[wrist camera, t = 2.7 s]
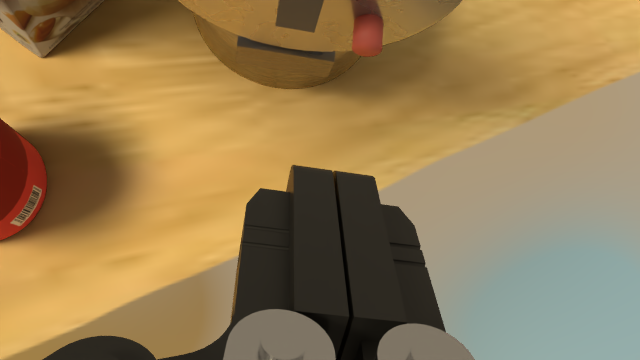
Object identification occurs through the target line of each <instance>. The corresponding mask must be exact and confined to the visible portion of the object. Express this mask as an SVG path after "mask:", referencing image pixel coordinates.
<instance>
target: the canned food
mask: <svg viewBox="0 0 640 360" xmlns="http://www.w3.org/2000/svg"><path fill="white" fill-rule="evenodd" d="M46 190H47V175H46V170H45V165H44V163H43V160H42V158H41V156H40V154H39V153H38V152H37V150H36V149H35V147H34V146H33V145H32V144H30V143H29V142H28V141H27V140H26V139H25V138H24V137H22V136H21V135H20V134H19V133H17V132H16V131H15V130H14V129H12V128H11V127H10V126H9V125H8V124H6V123H5V122H4V121H3V120H1V119H0V240H2V239H5V238H7V237H9V236H12V235H14V234H16V233H17V232H19V231H20V230H21V229H23V228H24V227H26V226H27V225H28V224H29V223H30V222H31V221H32V220H33V219H34V218H35V216H36V215H37V213H38V212H39V210H40V209H41V206H42V204H43V201H44V199H45V195H46Z"/></svg>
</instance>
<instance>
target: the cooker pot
mask: <svg viewBox="0 0 640 360" xmlns="http://www.w3.org/2000/svg"><path fill="white" fill-rule="evenodd" d="M193 13H194V12H193ZM194 18H195V21H196V24H197V27H198V30H199V32H200V34H201V36H202V38H203V39H204V41H205V43H206V44H207V46H208V47H209V48H210V50H211V51H212V52H213V53H214V54H215V56H216V57H217V58H218V59H219V60H220V61H221V62H222V63H224V64H225V65H226V66H227V67H228V68H230V69H231V70H233V71H234V72H236V73H237V74H239V75H240V76H242V77H244V78H247V79H249V80H251V81H253V82H256V83H259V84H262V85H265V86H270V87H275V88H284V89H299V88H306V87H313V86H316V85H319V84H323V83H325V82H328V81H330V80H332V79H334V78H336V77H338V76H339V75H341V74H342V73H344V72H345V71H346V70H348V69H349V68H350V67H351V66H352V65H353V64H354V63H355V62H356V61H357V60H358V59H359V58H360V57H361V56H360V55H358V54H356V53H354V52H353V50H352V51H339V52H320V51H304V50H296V49H289V48H283V47H278V46H273V45H269V44H265V43H261V42H258V41H254V40H251V39H248V38H245V37H242V36H239V35H237V34H234V33H232V32H230V31H227V30H225V29H223V28H220V27H218V26H217V25H215V24H213V23H211V22H209V21H207V20H205V19H203V18H202V17H200V16H199V15H197V14H196V13H194Z"/></svg>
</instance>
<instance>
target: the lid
mask: <svg viewBox="0 0 640 360" xmlns="http://www.w3.org/2000/svg"><path fill="white" fill-rule="evenodd" d="M178 1H179V2H180V3H182V4H183V5H184V6H186V7H187V8H188V9H189V10H191V11H192V12H194V13H196V14H197V15H199V16H200V17H202V18H203V19H205V20H207V21H209V22H211V23H213V24H215V25H217V26H218V27H220V28H223V29H225V30H227V31H230V32H232V33H234V34H237V35H239V36H242V37H245V38H248V39H251V40H254V41H258V42H261V43H265V44H269V45H273V46H278V47H283V48H289V49H296V50H304V51H320V52H339V51H352V50H353V52H354V53H356V54H358V55H360V56H365V57H370V56H375V55H378V54H379V53H381V51H382V45H386V44H390V43H393V42H396V41H399V40H402V39H405V38H408V37H410V36H412V35H415V34H417V33H419V32H421V31H423V30H425V29H427V28H428V27H430V26H432V25H434V24H435V23H437V22H438V21H440V20H441V19H442V18H444V17H445V16H446V15H448V14H449V13H450V12H451V11H452V10H453V9H454V8H455V7H456V6H458V5H459V4H460V2H461V1H462V0H178Z"/></svg>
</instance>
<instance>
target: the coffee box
mask: <svg viewBox="0 0 640 360" xmlns="http://www.w3.org/2000/svg"><path fill="white" fill-rule="evenodd" d="M103 1H104V0H0V28H1V29H2V30H3V31H5V32H6V33H7V34H9V35H10V36H11V37H13V38H14V39H15V40H16V41H18V42H19V43H20V44H22V45H23V46H24V47H26V48H27V49H28V50H30V51H31V52H33V53H34V54H36V55H37V56H39V57H45V56H46V55H47V54H48V53H49V52H50V51H51V50H52V49H53V48H54V47H55V46H56V45H57V44H58V43H59V42H60V41H62V40H63V39H64V38H65V37H66V36H67V35H68V34H69V33H70V32H71V31H72V30H73V29H74V28H75V27H76V26H77V25H78V24H79V23H81V22H82V21H83V20H84V19H85V18H86V17H87V16H88V15H89V14H90V13H91V12H92V11H93V10H94V9H95V8H96V7H98V6H99V5H100V4H101V3H102V2H103Z"/></svg>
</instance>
